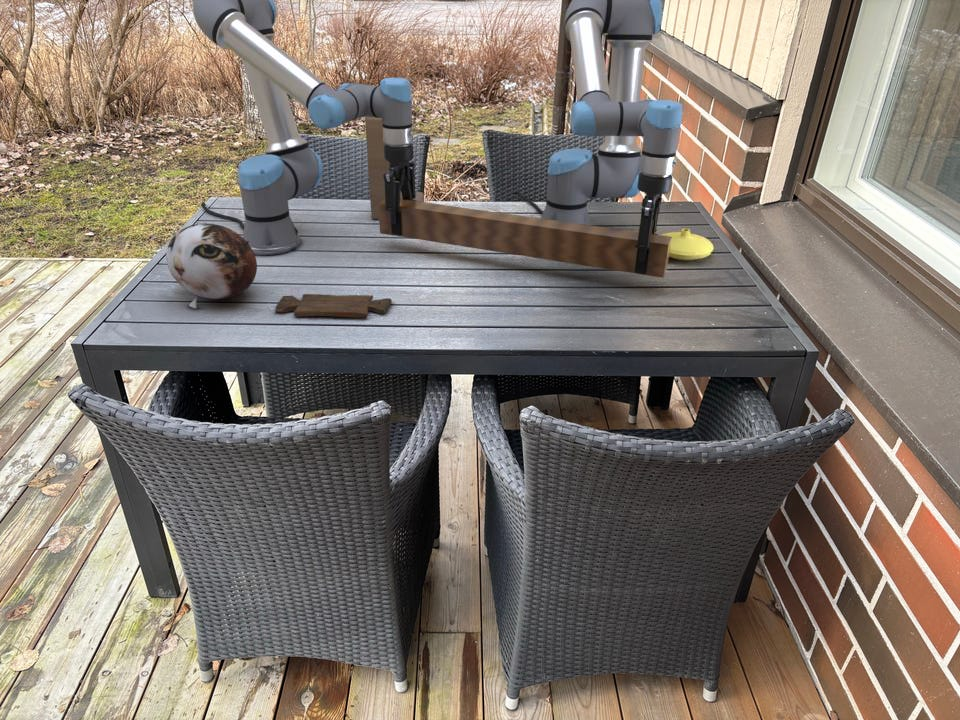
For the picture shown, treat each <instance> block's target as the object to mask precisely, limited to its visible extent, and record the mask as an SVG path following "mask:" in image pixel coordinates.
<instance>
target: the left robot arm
mask: <svg viewBox="0 0 960 720" xmlns="http://www.w3.org/2000/svg"><path fill="white" fill-rule="evenodd" d="M277 12H278V11H277V5H276V3H275V0H193V3H192V13H193V17H194V20H195V22H196V24H197V27H198V28H199V29H200V31H201V32H202V33H203V34H204V35H205V36H206V37H207V38H208V39H209V40H210V41H211V42H212V43H213V44H214V45H216V46H217V47H219V48H220V49H222V50H229V51H231V52H233V53H234V54H235V55H236V56H238V57H239V58H240V59H241V62H242V65H243V68H244V71H245V74H246V77H247V80H248V83H249V87H250V89H251V90H250V91H251V93H252V96H253V99H254V102H255V106H256V108H257V111H258V115H259V118H260V121H261V124H262V127H263V131H264V134H265V136H266V140H267V143H268V144H267V146H266V149H265V154H259V155H257V156H256V155H254V156H251V157H248V158H246V159H244V160H243V161H241V162H240V164H239V165H238V168H237V174H238V179H237V182H238V185H239V190H240V197H241V202H242V203H241V204H242V208H243V212H244V213H243V215H244V219H245V220H244V223H243V221H242V220H241V219H240V218H237V217H236V216H231V215H226V214H222V213H218V212H217V211H212V210H211V209H209V208H207V206H206V203H205V202H201V207H202V208H203V210H204V211H205V212H206V213H208V214H210V215H213V216H215V217H218V218H222V219H227V220H231V221H235V222H237V223H238V224H239V226H240V227H241V228H242V229H243V235H242V237H243V238H244V239H245V240H246V241H249V242H248V244H249V245H250V247H251V248H252V250H253V252H254V254H255V256H256V255H257V256H275V255H281V254H282V255H283V254H285V253H289V252H291V251H293V250H296V249H297V248H298V247H299V246H300V244H301V241H300V235H299V231H298V229H297V228H296V227H295V225H294V223H293V220H292V218H291V216H290V207H289V201H291V200H293V199H294V198H297V197H299V196H301V195H304V194H307V193H309V192H311V191H312V190H313V189H315V188H316V187H318V186H319V184H320V183H321V181H322V180H323V175H324V165H323V162H322V159H321V157H320V155H319V154H318V153H317V152H315V150H314V149H313V148H311V147H310V146H309V144H308V141H307V140H306V139H305V138H303V137H302V136H301V135H300V133H299V130H298V126H297V123H296V120H295V117H294V113H293V110H292V107H291V104H290V103H291V102H290V100H289V96H290V97H291V98H292V99H293V100H295V101H296V102H297V103H299V104H300V105H302V106H303V107H304V108H305V109H307V114H308V117H309V118H310V120H311V122H312V124H313V125H314V126H315V127H317V128H318V129H321V130H328V129H333V128H339V127H340V126H342V125H344V124H347V123H350V122H352V121H355V120H358V119H361V118H363V117H364V118H365V117H376V118H382V124H383V142H384V143H385V145H384V158H385V159H386V160H387V161H388V162H389V163H390V164H389V172H388V173H384V175H383V177H384V182H385V206H386V211H390V212H391V229H392V234H394V235H400V236H401V235H402V221H401V211H399V207H400V195H401V193H402V198H403V199H404V200H411V201H415V200H413V199H415V198H416V193H415V191H416V177H415V176H416V175H415V168H416V162H415V161H412V160H414V157H415V156H414V155H415V153H414V152H415V151H414V145H413V144H412V143H414V135H415V132H414V130H413V95H412V86H411V82H410V80H408V79H407V78H403V77H385V78H383V79H381V80H380V82H379V85H372V84H361V83H357V82H352V83H351V82H344V83H343V84H340V85H339V88H337V90H335V89H333V87H331V86H330V85H328V84H327V83H326V82H324V81H323V80H322V79H320V78H319V77H318V76H317V75H315V74H314V73H313V72H311V70H309V69H307V68H306V67H305V66H304V65H302V63H300V62H299V61H297V60H296V59H295V58H294V57H292V55H289V54H288V53H287V52H286V51H284V50H283V49H282V48H280V47H279V46H278V45H277V44H275V43H274V42H273V40H274V38H275V37H276V36H275V35H276V33H275V30H274V27H273V26H274V24H275V23H276V18H277V15H278V13H277ZM395 181H399V182H395ZM205 206H206V207H205ZM400 236H399V237H400Z"/></svg>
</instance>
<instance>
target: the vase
mask: <svg viewBox="0 0 960 720" xmlns="http://www.w3.org/2000/svg"><path fill="white" fill-rule="evenodd" d="M660 235H663V236H670V237H672V241H671V247H670V253H669V258H671V259H675V260H679V261H696V260H700V259H703V258H707V257H709V256H710V255H711V254H712V253H713V250H714V249H715V248H714V244H713V243H712V242H711V241H710V240H709V239H708V238H707V237H704V236H702V235H700V234H699V235H698V234H695V233H691V229H689V228H681V230H680V231H672V232H671V231H670V232H665V233H661V234H660Z"/></svg>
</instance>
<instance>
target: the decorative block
mask: <svg viewBox="0 0 960 720" xmlns="http://www.w3.org/2000/svg"><path fill="white" fill-rule="evenodd" d="M364 124H365V125H364V126H365V139H366V156H367V170H368V172H367V173H368V184H369V201H370V216H371V219H374V220H379V208H378V203H379V202H381V201H383V200H384V199H385V182H384V177H383V175H384V173H388V172H389V164H390V163H389V162H388V161H387V160H386V159H385V158H384V145H385V143H384V142H383V124H382V118H376V117H364ZM395 182H399V181H395ZM415 193H416V198H415V199H413V200H415V201H418V202H425V194H424V193H423V192H421V191H417V190H415ZM400 199H403V198H402V193H401V195H400Z"/></svg>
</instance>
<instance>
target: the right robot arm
mask: <svg viewBox="0 0 960 720" xmlns="http://www.w3.org/2000/svg"><path fill="white" fill-rule="evenodd" d="M662 19H663V4H662V0H571V2H570V3H569V5H568V7H567V9H566V12H565V16H564V25H563V27H564V33H565V37H566V38H567V40H568V41H569V42H570V49H571V57H572V64H573V65H572V66H573V73H574V80H575V87H576V96H577V101H575V102H574V103H573V104H572V106H571V110H570V130H571V133H572V134H573V135H575V136H581V137H589V138H590V137H604V142H603V143H601V145H600V146H599V147H598V153H597V154H595V155H594V154H593V153H592V151H591V150H590V149H589V148H588V149H587V148H580V147H572V148H566V149H561V150H559V151H556V152H554V153H553V154H552V155H551V156H550V158H549V162H548V169H547V189H546V200H545V201H546V203H545V206H544V209H543V210H542V209H541V207H539V206H538V205H537V204H536V202H534V201H532V200H530V199H529V198H527V197H526V196H524V195H523V194H522V193H521V191H519V190H515V191H514V193H513V194H514V195H518V196H519V197H520V198H521V200H523V201H525V202H526V203H528V204H530V205H531V206H532V207H533V208H534V209H536V211H537V212H538V213H539V214H541V217H540V218H541V219H548V220H555V221H562V222H570V223H577V224H584V225H591V226H592V224H591V220H590V215H589V211H588V200H589V199H619V200H622V199H627V198H628V199H629V198H634V197H636V196H638V195H639V193H640V192H641V193H644V194H645V195H644V197H643V199H642V201H641V212H640V221H639V227H638V228H639V229H638V232H639V235H638V242H637V245H635V247H636V248H638V249H637V257H636V264H635V271H634V273H633V274H635V273H641V274H640V275H642V274H646V271H647V264H648V257H649V250H650V248H649V244H650V238H651V234H656V235H659V234H658V233H657V230H658V229H657V228H658V220H659V214H660V210H661V205H662V202H663V195H665V194H668V193H669V192H670V191H671V189H672V184H673V175H672V174H673V173H674V168H675V165H676V166H677V165H678V160H677V159H676V155H677V151H678V144H679V137H680V132H681V125H682V122H683V105H682V103H680V102H679V101H675V100H672V99H651V98H645V99H641V95H642V87H643V85H642V84H643V75H644V67H645V66H644V65H645V54H646V49H647V47H648V46H649V45H650V44H651V43H652V42H653V36H655V35H657V34H658V33H659V32H660V30H661V26H662V25H661V24H662ZM602 34H607V35H606V42H607V44H608V45H609V46H610V47H611V56H610V57H611V58H610V68H609V69H610V70H609V71H610V72H609V79H608V73H607V65H606V61H605V54H604V47H603V41H602ZM638 137H643V138H642V148H641V147H640V145H638V144H637V139H638Z"/></svg>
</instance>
